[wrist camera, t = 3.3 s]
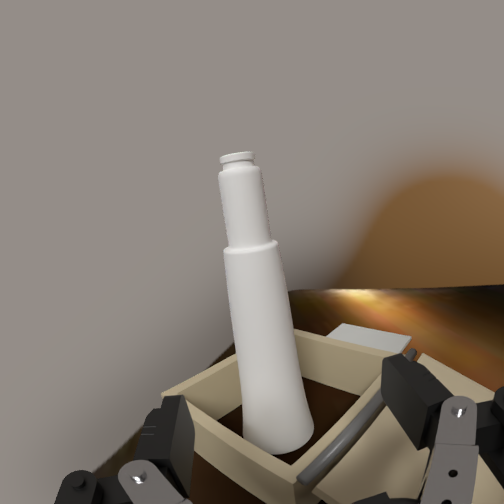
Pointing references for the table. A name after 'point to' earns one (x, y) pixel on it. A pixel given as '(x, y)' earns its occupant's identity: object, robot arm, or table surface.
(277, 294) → the cosmetic bottle
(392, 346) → the mat
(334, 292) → the table surface
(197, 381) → the case
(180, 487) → the robot arm
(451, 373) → the lid
